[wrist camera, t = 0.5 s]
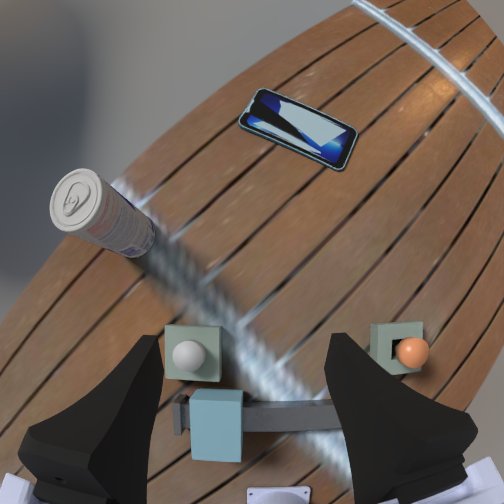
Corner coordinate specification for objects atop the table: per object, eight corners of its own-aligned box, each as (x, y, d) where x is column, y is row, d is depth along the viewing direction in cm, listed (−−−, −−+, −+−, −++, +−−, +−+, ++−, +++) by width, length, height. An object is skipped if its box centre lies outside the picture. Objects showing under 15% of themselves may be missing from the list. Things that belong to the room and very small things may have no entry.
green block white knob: (221, 376, 35) (216, 386, 31) (171, 373, 35) (160, 382, 31) (221, 326, 36) (216, 329, 32) (170, 324, 36) (159, 326, 32)
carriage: (243, 440, 33) (240, 462, 27) (201, 438, 33) (192, 459, 28) (243, 386, 34) (240, 401, 29) (199, 384, 35) (189, 399, 29)
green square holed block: (412, 367, 35) (421, 370, 32) (369, 372, 35) (376, 376, 32) (413, 320, 36) (423, 321, 33) (370, 323, 36) (378, 324, 33)
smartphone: (341, 173, 39) (235, 124, 40) (339, 175, 40) (235, 127, 40) (360, 130, 40) (260, 85, 41) (357, 133, 41) (260, 89, 41)
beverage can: (156, 212, 38) (105, 162, 24) (156, 257, 38) (99, 228, 23) (115, 215, 38) (52, 172, 24) (114, 259, 38) (45, 234, 23)
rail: (361, 421, 34) (371, 431, 30) (181, 424, 34) (174, 434, 31) (364, 392, 35) (374, 400, 31) (179, 394, 35) (172, 402, 31)
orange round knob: (410, 360, 33) (428, 366, 29) (386, 363, 33) (402, 370, 29) (411, 334, 34) (429, 336, 29) (387, 336, 34) (404, 339, 29)
